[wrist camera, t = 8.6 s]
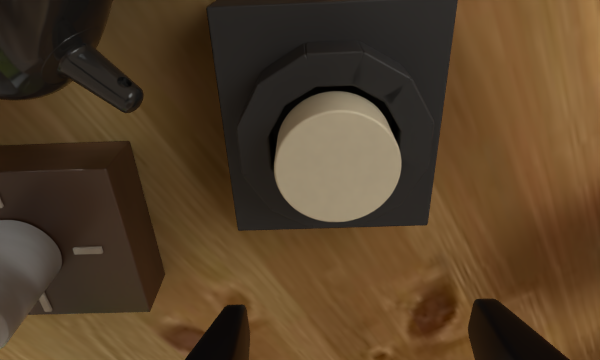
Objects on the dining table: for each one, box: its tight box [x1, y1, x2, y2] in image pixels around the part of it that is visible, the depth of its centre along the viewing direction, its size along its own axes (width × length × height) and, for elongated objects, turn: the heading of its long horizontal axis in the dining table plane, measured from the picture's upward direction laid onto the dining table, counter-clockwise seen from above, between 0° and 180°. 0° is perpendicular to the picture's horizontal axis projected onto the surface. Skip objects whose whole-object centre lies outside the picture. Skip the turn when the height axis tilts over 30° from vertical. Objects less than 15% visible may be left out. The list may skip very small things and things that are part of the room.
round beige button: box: [274, 91, 401, 222], centre depth 15 cm, size 4×4×2 cm
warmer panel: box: [0, 141, 165, 315], centre depth 22 cm, size 11×9×3 cm
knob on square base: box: [207, 0, 458, 231], centre depth 18 cm, size 9×10×5 cm
